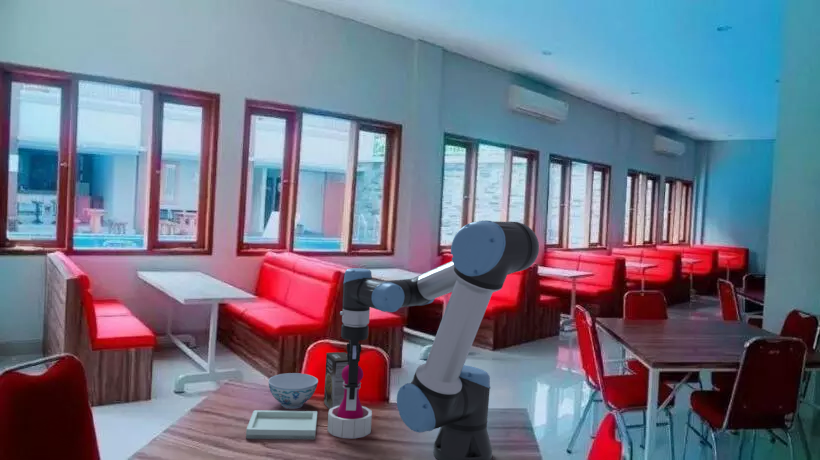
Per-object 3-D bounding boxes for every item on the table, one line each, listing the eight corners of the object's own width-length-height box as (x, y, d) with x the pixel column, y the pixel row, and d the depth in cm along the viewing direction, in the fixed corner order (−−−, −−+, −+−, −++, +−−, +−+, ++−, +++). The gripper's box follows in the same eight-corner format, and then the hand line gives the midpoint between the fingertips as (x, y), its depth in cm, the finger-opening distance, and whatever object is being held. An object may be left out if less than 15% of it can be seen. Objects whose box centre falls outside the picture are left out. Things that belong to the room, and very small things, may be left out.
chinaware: (297, 393, 197) (298, 370, 196) (326, 406, 186) (327, 382, 186) (257, 403, 186) (258, 378, 185) (286, 417, 175) (287, 391, 175)
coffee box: (323, 403, 189) (325, 352, 188) (342, 401, 192) (345, 351, 191) (331, 413, 181) (334, 360, 180) (352, 411, 184) (354, 359, 183)
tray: (316, 419, 175) (317, 411, 175) (314, 439, 161) (315, 430, 161) (253, 418, 173) (253, 410, 173) (245, 438, 159) (246, 429, 159)
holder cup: (378, 428, 172) (379, 410, 172) (355, 441, 161) (356, 423, 161) (344, 418, 177) (344, 401, 177) (319, 431, 167) (320, 413, 167)
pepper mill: (358, 436, 165) (362, 364, 164) (332, 432, 167) (336, 361, 165) (365, 426, 172) (369, 357, 171) (341, 423, 174) (344, 354, 172)
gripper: (341, 316, 176) (337, 394, 178) (341, 331, 158) (337, 418, 159) (367, 317, 177) (362, 394, 179) (370, 332, 159) (365, 418, 160)
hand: (350, 405), depth 169 cm, fingers closed on pepper mill, 6 cm apart
